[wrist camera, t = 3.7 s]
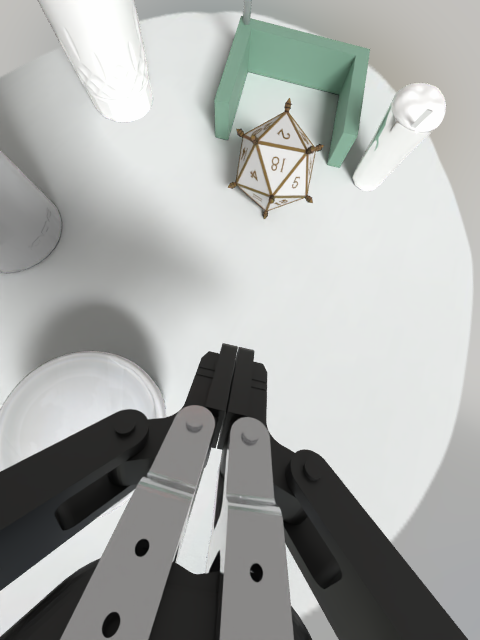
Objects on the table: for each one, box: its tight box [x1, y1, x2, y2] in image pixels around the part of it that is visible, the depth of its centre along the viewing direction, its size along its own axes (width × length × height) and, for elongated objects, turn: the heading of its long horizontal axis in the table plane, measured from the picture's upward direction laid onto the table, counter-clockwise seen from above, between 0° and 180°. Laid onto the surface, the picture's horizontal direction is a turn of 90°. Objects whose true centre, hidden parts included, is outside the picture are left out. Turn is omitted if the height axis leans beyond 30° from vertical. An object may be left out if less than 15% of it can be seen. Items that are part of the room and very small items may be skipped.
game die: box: [228, 98, 324, 219], centre depth 24 cm, size 9×8×10 cm
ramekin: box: [0, 351, 166, 519], centre depth 19 cm, size 11×11×5 cm
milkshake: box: [352, 83, 446, 191], centre depth 24 cm, size 4×5×10 cm
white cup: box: [38, 0, 153, 122], centre depth 24 cm, size 8×8×10 cm
